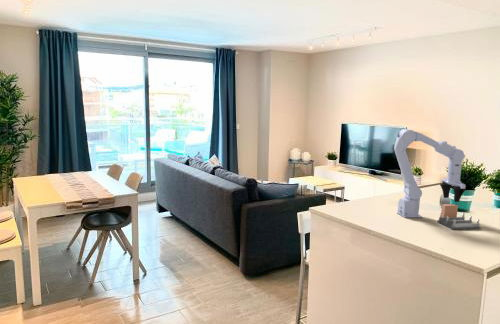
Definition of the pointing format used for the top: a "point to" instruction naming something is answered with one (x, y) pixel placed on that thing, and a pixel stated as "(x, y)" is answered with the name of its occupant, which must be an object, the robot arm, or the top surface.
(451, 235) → the top surface
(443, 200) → the ceramic mug
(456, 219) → the pegged metal rack
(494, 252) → the top surface
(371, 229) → the top surface
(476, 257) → the top surface
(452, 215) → the peach brick
